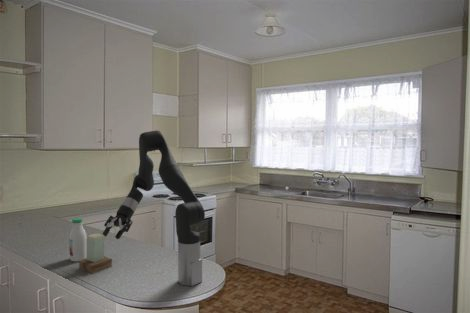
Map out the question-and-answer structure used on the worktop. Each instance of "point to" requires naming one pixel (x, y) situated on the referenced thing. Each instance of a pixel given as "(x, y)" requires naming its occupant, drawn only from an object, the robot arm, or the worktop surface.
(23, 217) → the worktop surface
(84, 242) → the milk bottle
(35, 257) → the worktop surface
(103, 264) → the walnut box
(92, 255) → the tea tin
